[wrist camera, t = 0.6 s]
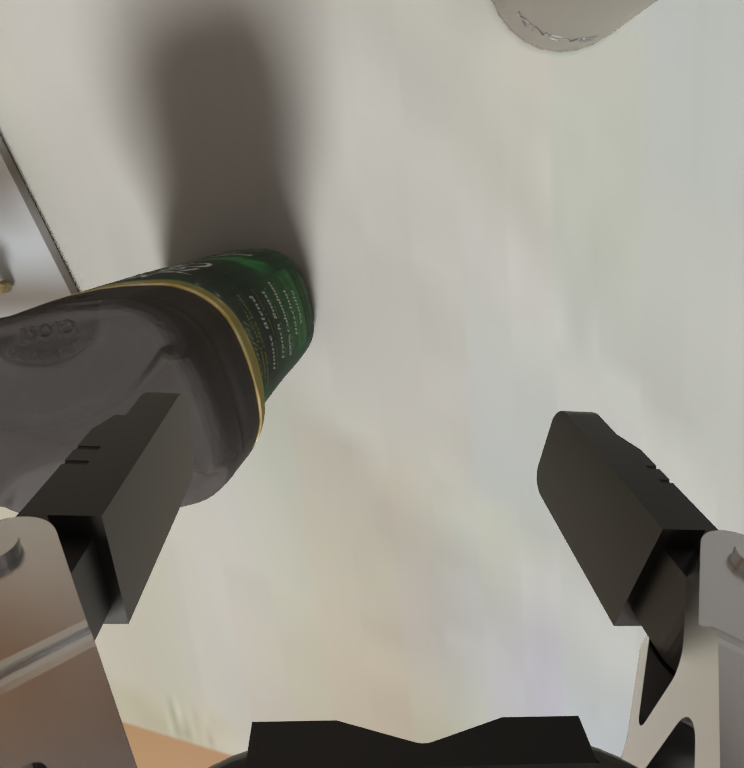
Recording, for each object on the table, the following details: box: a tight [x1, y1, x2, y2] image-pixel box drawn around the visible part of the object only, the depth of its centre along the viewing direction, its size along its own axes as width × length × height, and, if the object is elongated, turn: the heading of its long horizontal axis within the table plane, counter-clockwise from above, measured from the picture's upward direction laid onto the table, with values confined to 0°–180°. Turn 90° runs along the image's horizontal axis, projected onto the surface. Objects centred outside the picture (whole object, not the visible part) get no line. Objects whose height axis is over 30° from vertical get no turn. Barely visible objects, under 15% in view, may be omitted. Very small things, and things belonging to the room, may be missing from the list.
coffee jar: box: [0, 250, 314, 513], centre depth 22 cm, size 10×8×19 cm
